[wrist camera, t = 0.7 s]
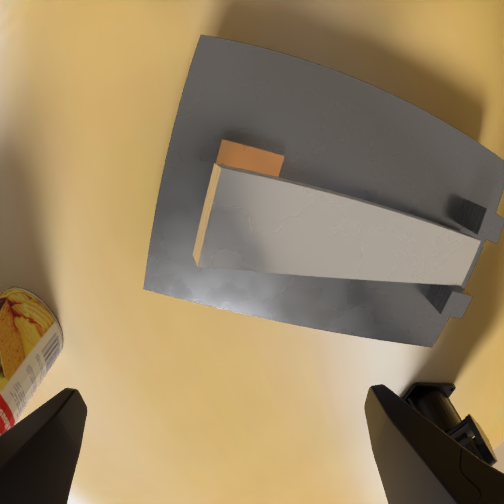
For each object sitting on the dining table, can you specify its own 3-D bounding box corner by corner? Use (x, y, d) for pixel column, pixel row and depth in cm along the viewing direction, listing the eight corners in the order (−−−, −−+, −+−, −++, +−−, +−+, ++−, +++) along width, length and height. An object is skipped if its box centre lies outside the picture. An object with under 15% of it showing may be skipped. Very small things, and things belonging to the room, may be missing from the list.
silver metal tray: (476, 156, 18) (530, 170, 13) (410, 318, 23) (443, 363, 18) (209, 53, 16) (194, 22, 11) (159, 261, 21) (133, 307, 16)
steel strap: (471, 235, 16) (480, 241, 15) (452, 279, 17) (461, 285, 16) (214, 163, 9) (221, 168, 8) (192, 255, 10) (197, 266, 9)
